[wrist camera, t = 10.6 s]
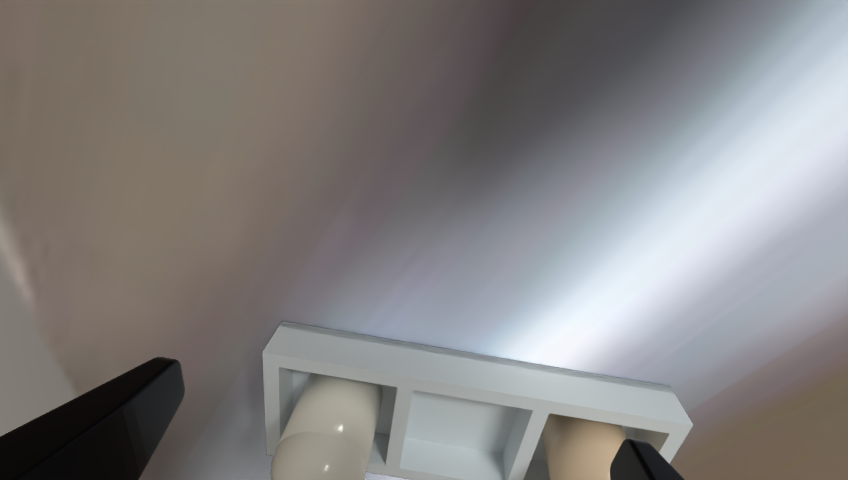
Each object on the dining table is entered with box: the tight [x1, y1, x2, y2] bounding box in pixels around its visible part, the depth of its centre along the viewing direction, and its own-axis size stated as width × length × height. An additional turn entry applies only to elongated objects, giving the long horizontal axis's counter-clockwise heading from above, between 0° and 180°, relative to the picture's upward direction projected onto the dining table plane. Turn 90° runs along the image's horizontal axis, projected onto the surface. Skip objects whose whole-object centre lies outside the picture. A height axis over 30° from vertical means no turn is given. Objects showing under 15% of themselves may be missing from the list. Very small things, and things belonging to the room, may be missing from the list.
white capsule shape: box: [271, 373, 383, 480], centre depth 21 cm, size 4×4×7 cm
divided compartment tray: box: [262, 321, 693, 480], centre depth 23 cm, size 21×8×2 cm, turn 81°
